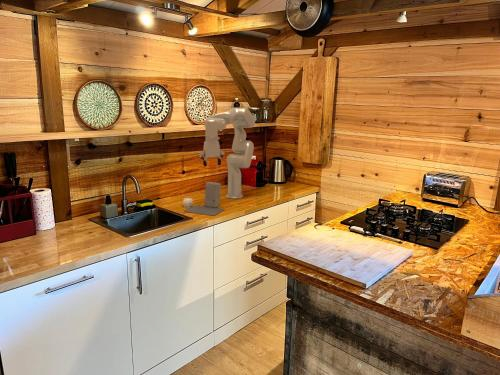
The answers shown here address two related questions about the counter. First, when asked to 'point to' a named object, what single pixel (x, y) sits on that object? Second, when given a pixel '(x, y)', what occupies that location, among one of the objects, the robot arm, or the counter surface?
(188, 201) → the white round piece
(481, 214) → the counter surface
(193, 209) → the mat
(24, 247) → the counter surface
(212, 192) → the skincare box
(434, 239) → the counter surface
